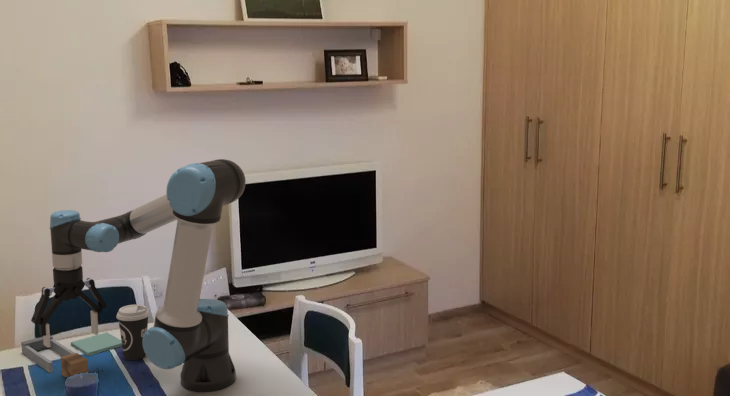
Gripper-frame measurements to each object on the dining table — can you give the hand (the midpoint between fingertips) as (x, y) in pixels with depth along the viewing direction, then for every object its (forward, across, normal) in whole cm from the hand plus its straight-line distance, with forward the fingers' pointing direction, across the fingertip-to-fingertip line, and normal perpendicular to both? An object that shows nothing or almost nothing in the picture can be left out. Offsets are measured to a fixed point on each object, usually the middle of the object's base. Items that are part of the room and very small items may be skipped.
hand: (71, 339), depth 197 cm
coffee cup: (+11, -19, 0) cm, 22 cm away
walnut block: (+11, 0, +1) cm, 11 cm away
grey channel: (+11, 0, -16) cm, 20 cm away
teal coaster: (+11, -15, -16) cm, 25 cm away
